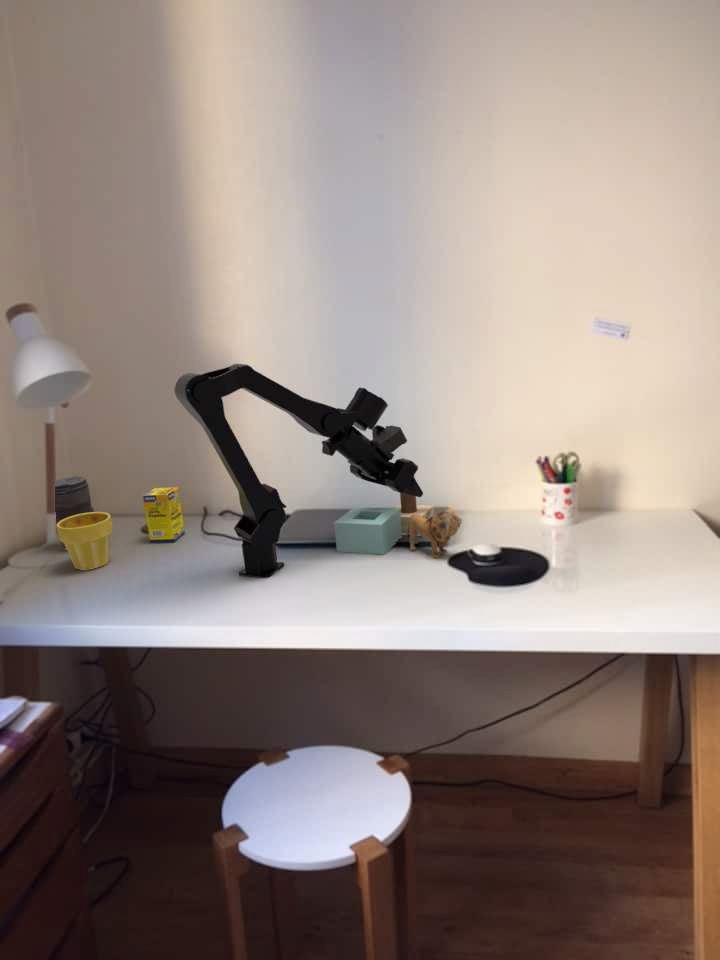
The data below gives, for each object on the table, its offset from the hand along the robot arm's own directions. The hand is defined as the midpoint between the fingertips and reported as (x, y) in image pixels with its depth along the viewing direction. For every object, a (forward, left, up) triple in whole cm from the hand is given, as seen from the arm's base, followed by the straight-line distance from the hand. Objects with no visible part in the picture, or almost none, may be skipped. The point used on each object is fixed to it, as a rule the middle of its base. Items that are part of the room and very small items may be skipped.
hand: (409, 490), depth 153 cm
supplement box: (-14, +52, -8) cm, 55 cm away
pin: (0, 0, -4) cm, 4 cm away
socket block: (-10, +5, -8) cm, 14 cm away
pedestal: (0, 0, -8) cm, 8 cm away
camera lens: (-22, +70, -8) cm, 74 cm away
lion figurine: (-12, -8, -8) cm, 17 cm away
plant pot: (-31, +58, -8) cm, 67 cm away
